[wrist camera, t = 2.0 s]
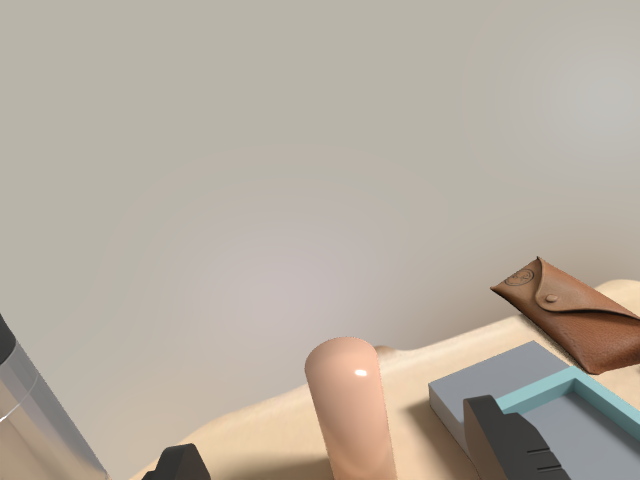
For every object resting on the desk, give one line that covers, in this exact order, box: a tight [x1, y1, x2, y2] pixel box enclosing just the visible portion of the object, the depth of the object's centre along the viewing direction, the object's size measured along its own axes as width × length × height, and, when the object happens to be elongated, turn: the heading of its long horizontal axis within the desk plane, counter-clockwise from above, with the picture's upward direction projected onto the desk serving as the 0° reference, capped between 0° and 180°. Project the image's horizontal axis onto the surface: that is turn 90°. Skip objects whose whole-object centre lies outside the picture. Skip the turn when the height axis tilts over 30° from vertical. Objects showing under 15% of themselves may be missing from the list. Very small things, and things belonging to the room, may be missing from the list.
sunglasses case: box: [490, 256, 640, 375], centre depth 41 cm, size 18×7×7 cm
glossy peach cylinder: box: [305, 337, 398, 480], centre depth 26 cm, size 5×5×13 cm
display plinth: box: [428, 340, 640, 480], centre depth 25 cm, size 12×20×4 cm, turn 16°
